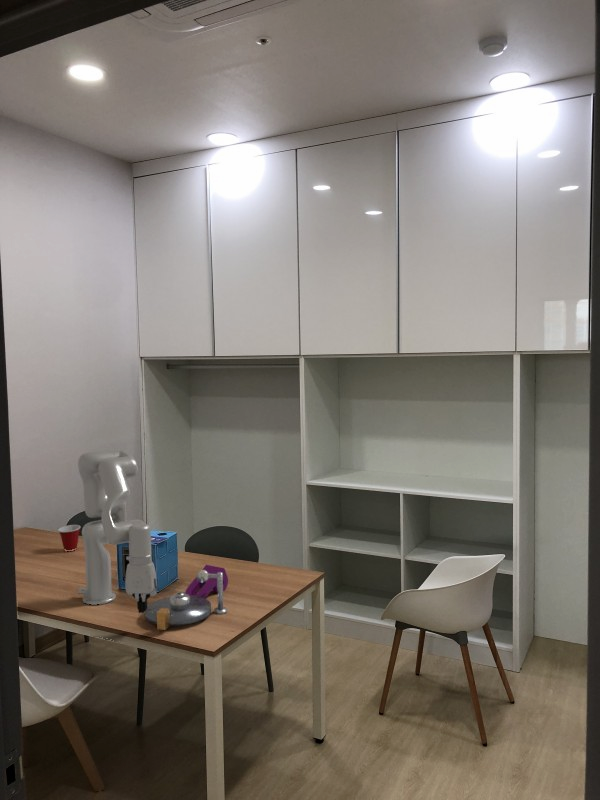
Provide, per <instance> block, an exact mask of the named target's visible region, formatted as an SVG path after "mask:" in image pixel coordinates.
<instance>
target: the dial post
mask: <svg viewBox="0 0 600 800" xmlns="http://www.w3.org/2000/svg"><path fill="white" fill-rule="evenodd" d="M195 578H197V580H198V581H199V582H201V583H204V582H206V581H207V580H208V578H217V586H218V592H217V607H215V608H214V609H213V612H214V614H216V615H223V614H226V613H228V608H227V607H226V606H224V591H223V573H222V572H218V573H217V574H208V572H207V571H206V570H202V569H201V570H199V571H198V572H197V573H196V576H195Z"/></svg>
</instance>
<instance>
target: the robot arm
mask: <svg viewBox="0 0 600 800" xmlns="http://www.w3.org/2000/svg"><path fill="white" fill-rule="evenodd" d="M77 468H78V469H77V470H78V473H79V475H80V479H81V480H82V488H83V489H82V490H83V504H84V505H83V506H84V512H85V516H87V517H88V518H91V519H92V518H93V519H94V518H101V519H98V520H94V521H90V522H87V523H85V524H84V525H83V527H82V530H81V537H82V542H83V548H84V557H85V560H84V561H85V585H86V586H85V587H79V588H78V591H77V593H78V595H83V597H82V603H84V604H85V603H86V604H85V605H89V604H91V605H90V606H97V604H99V605H105V604H108V603H111V602H113V601H114V600H115V599H116V593H115V592H113V591H112V565H111V564H112V563H111V554H110V551H109V550H108V549H107V548H106V547H105V545H107V544H111V545H121V544H126V543H128V552H129V553H128V554H129V555H126V557H125V558H126V561H128V562H129V563H128V564H127V565H126V571H125V582H124V586H125V589H124V590H125V592H126V594H127V595H129V596H133V598H134V599H135V602H136V604H137V610H138V613H139V614H140V613H141V614H143V613H144V614H145V611H146V610H147V606H148V599H149V598H150V597H155V596H156V595H158V594H157V593H158V592H157V587H158V582H157V573H156V568H155V564H154V562H153V561H152V560H153V559H152V533H151V530H152V529H151V525H149V524H147V523H145V522H144V521H143V520H141V519H139V518H138V519H132V520H131V519H130V520H128V516H127V515H128V514H127V503H126V501H127V500H129V498H130V496H131V490H130V487H129V485H128V482H127V479H133V478H136V477H137V476H138V472H139V467H138V463H137V461H136V459H135V458H134V457H133V456H132V455H131V454H129V453H128V452H126V451H124V450H122V449H119V448H117V449H115V448H114V449H107V450H106V449H105V450H95V451H88V452H85V453H82V454H81V455H80V456H79V458H78V462H77Z"/></svg>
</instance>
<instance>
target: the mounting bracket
mask: <svg viewBox="0 0 600 800" xmlns="http://www.w3.org/2000/svg"><path fill="white" fill-rule="evenodd" d="M201 570H206V571H207V572H208V574H217V573H218V572H222V573H223V592H225V591H226V589H227V587H228V584H229V577H228V574H227V572H226V569H225V567H220V566H214V565H210V564H209V565H208V564H205V566H204V567H203V568H202V569H201ZM197 591H198V592H197ZM196 592H197V593H196ZM211 592H215V593H218V586H217V578H208V580H207V581H206V582H204V583H201V582H199V581H198V580H197V578H196V577H195V578H194V579H193V580H192V582H190V584H189V585H188V586H187V588H186V589H185V594H188V595H189V596H197V597H201V598H204V599H206V597H207V596H209V594H210V593H211Z"/></svg>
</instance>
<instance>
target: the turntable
mask: <svg viewBox="0 0 600 800" xmlns="http://www.w3.org/2000/svg"><path fill="white" fill-rule="evenodd" d="M170 597H171V596H168V597H163V598H160V599H157V600H154V601H153V602H151V603H149V604H147V610H146V611H145V612H144V618H145V620H146V621H148V622H150V623H152V624H153V625H156V627H157V628H156V629H157V630H161V631H166V630H167V629H169V627H177V626H184V625H191V624H194V623H198V622H200V621H202V620H205V619H206V618H207V617H209V616H210V614H211V612H212V603H211V601H210V600H208V599H206V598H201V597H197V596H189V599H190V607H189V608H188V609H187V610H184V611H173V610H171V609H170Z"/></svg>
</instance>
